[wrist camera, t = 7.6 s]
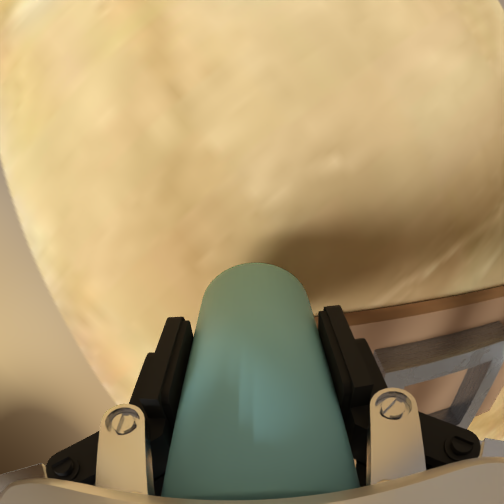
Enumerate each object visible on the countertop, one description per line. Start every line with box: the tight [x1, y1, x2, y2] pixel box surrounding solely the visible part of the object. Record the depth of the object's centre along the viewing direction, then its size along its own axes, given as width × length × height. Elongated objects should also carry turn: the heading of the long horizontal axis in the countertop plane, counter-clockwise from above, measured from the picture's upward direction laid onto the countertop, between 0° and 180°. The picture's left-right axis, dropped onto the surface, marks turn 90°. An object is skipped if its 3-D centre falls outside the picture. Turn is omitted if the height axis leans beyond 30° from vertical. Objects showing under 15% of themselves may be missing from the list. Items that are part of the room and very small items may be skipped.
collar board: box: [314, 286, 504, 429], centre depth 18 cm, size 20×14×3 cm
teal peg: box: [161, 263, 360, 500], centre depth 9 cm, size 4×4×9 cm
